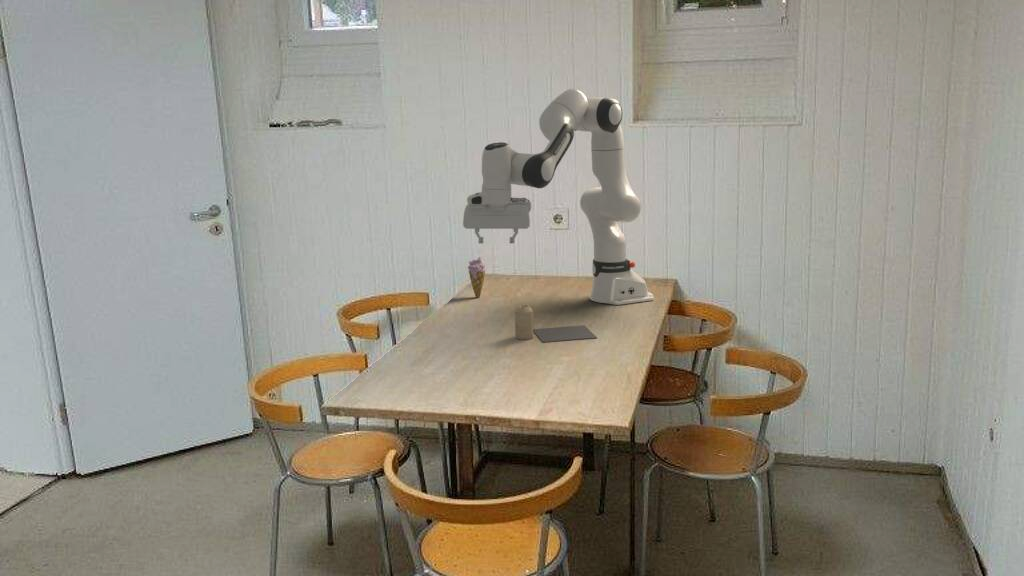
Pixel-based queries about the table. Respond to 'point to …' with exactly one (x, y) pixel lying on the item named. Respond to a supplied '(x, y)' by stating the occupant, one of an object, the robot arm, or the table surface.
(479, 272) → the ice cream cone
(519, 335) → the candle
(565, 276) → the table surface
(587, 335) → the mat
